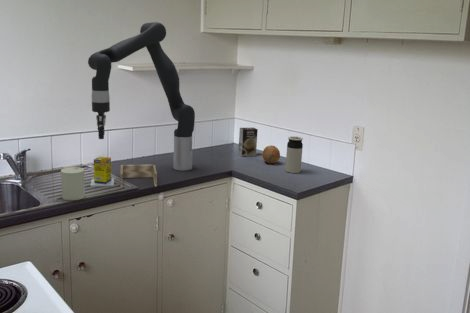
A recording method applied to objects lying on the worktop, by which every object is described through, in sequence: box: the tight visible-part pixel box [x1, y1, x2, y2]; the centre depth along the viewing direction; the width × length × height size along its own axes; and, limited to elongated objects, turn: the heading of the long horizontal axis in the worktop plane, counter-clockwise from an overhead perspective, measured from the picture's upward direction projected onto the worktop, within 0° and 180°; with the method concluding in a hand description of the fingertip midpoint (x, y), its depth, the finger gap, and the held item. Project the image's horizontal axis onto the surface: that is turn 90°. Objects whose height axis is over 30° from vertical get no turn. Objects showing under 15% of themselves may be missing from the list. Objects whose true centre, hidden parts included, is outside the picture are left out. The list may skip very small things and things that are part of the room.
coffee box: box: [237, 127, 258, 158], centre depth 281 cm, size 9×6×16 cm
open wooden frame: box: [120, 164, 158, 188], centre depth 224 cm, size 16×16×6 cm
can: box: [60, 166, 86, 201], centre depth 199 cm, size 9×9×12 cm
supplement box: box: [93, 156, 112, 184], centre depth 219 cm, size 6×6×11 cm
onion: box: [261, 145, 281, 164], centre depth 267 cm, size 10×10×10 cm
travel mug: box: [285, 136, 304, 174], centre depth 252 cm, size 8×8×18 cm
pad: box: [90, 177, 115, 188], centre depth 220 cm, size 10×10×1 cm
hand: (101, 137), depth 215 cm, fingers open, 8 cm apart
